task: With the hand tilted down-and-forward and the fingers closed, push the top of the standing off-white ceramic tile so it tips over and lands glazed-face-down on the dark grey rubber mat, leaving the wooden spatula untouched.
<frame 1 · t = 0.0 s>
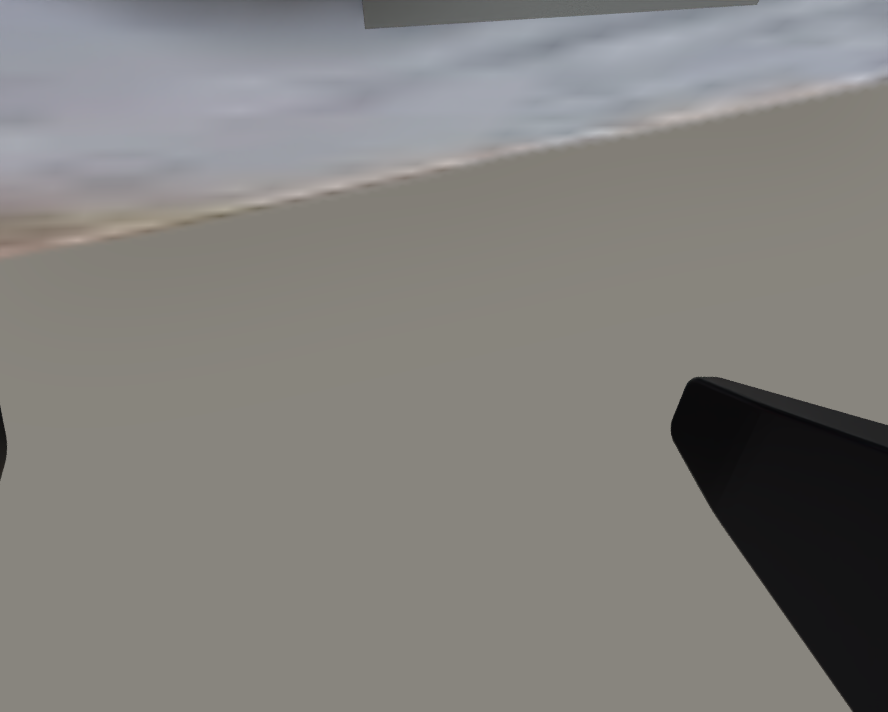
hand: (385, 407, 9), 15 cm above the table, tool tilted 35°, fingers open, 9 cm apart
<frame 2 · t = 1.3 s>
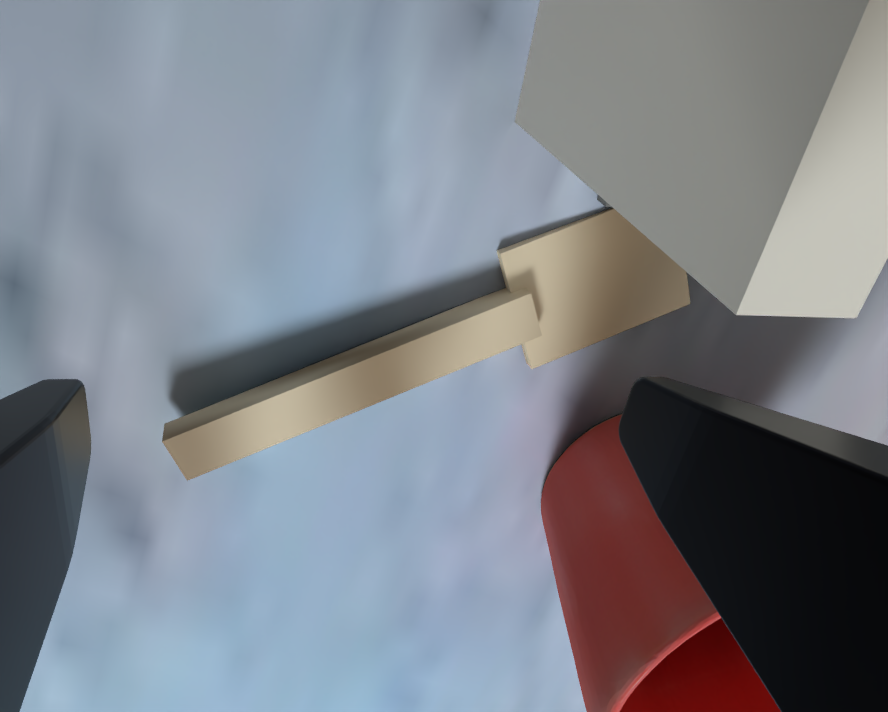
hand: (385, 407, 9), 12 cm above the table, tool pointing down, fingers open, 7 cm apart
flower pot: (623, 476, 30), on the table
spatula: (441, 336, 23), on the table, tilted 6°, touching mat
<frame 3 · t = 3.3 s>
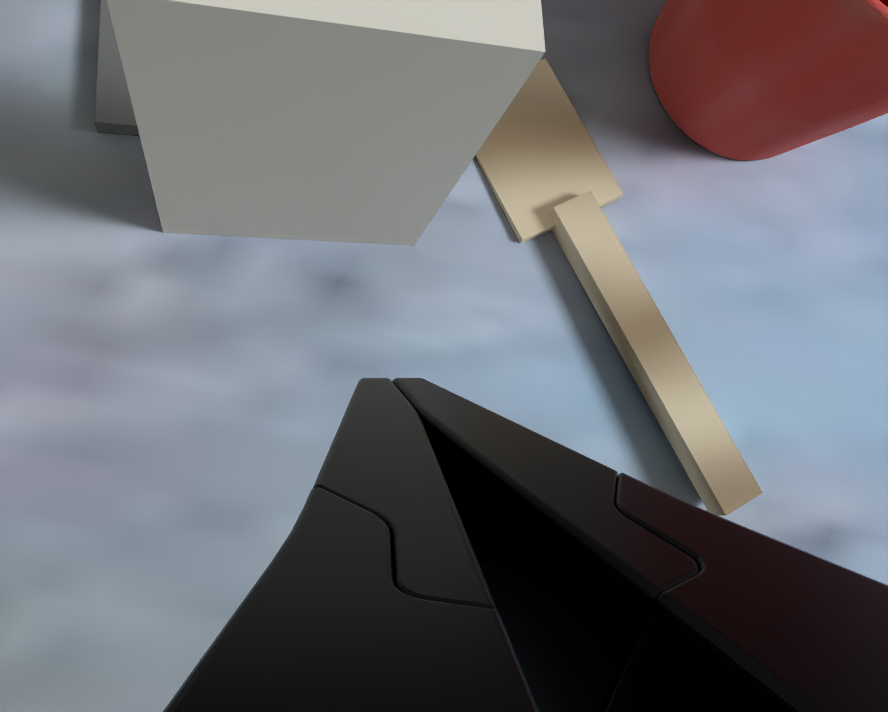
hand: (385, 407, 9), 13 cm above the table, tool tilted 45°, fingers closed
flower pot: (724, 82, 30), on the table
tile: (294, 204, 24), on the table
spatula: (602, 280, 26), on the table, tilted 6°, touching mat
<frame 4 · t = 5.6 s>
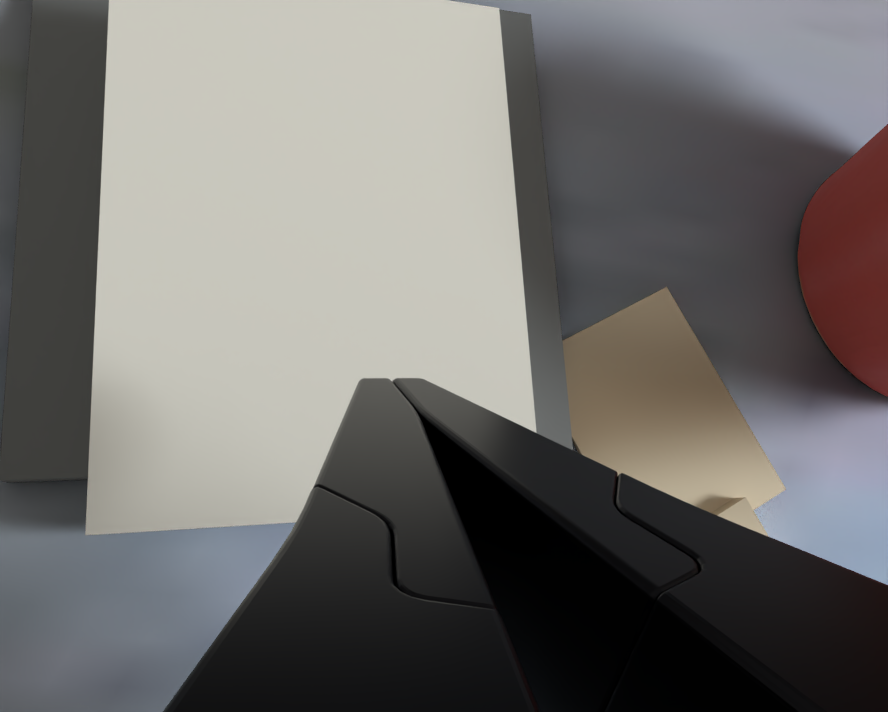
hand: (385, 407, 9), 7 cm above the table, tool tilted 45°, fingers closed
tile: (326, 520, 14), point 2 cm above the table, tilted 90°, touching mat
mat: (309, 216, 17), on the table
spatula: (761, 621, 18), on the table, tilted 6°, touching mat
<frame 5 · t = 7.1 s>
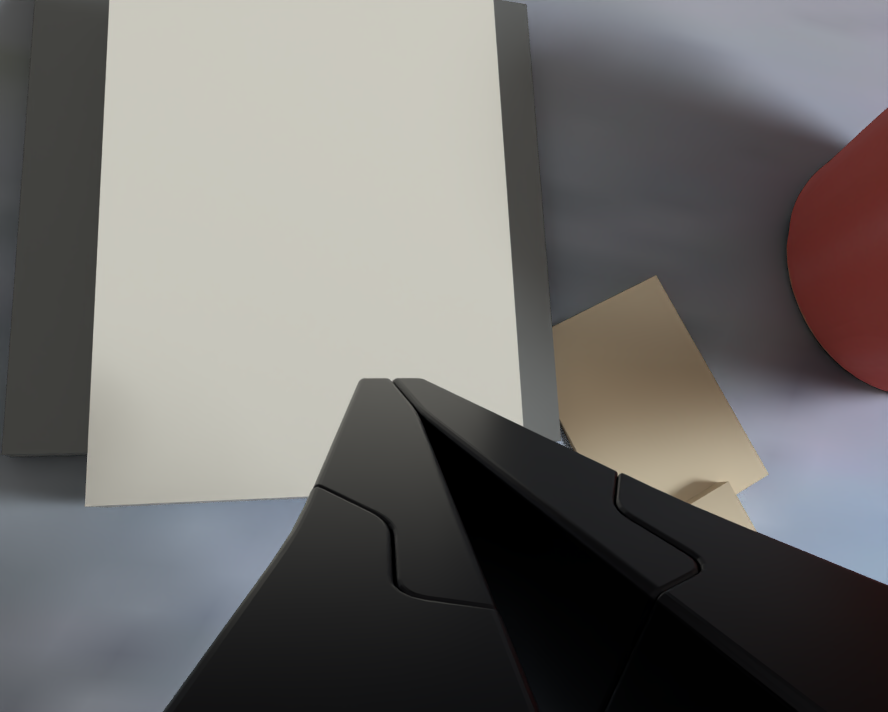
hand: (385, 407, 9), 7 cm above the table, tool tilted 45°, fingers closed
flower pot: (880, 278, 23), on the table
tile: (317, 496, 14), point 2 cm above the table, tilted 90°, touching mat
mat: (305, 201, 18), on the table
spatula: (741, 602, 19), on the table, tilted 6°, touching mat
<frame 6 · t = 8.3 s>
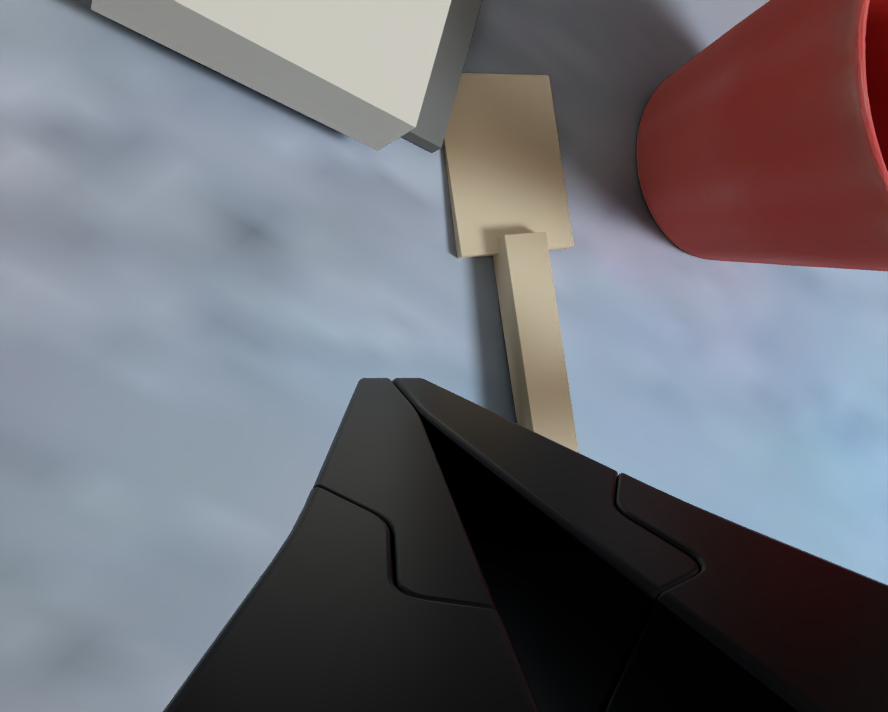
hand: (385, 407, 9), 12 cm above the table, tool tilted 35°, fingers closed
flower pot: (697, 169, 30), on the table
tile: (260, 71, 18), point 2 cm above the table, tilted 90°, touching mat
spatula: (523, 326, 25), on the table, tilted 6°, touching mat
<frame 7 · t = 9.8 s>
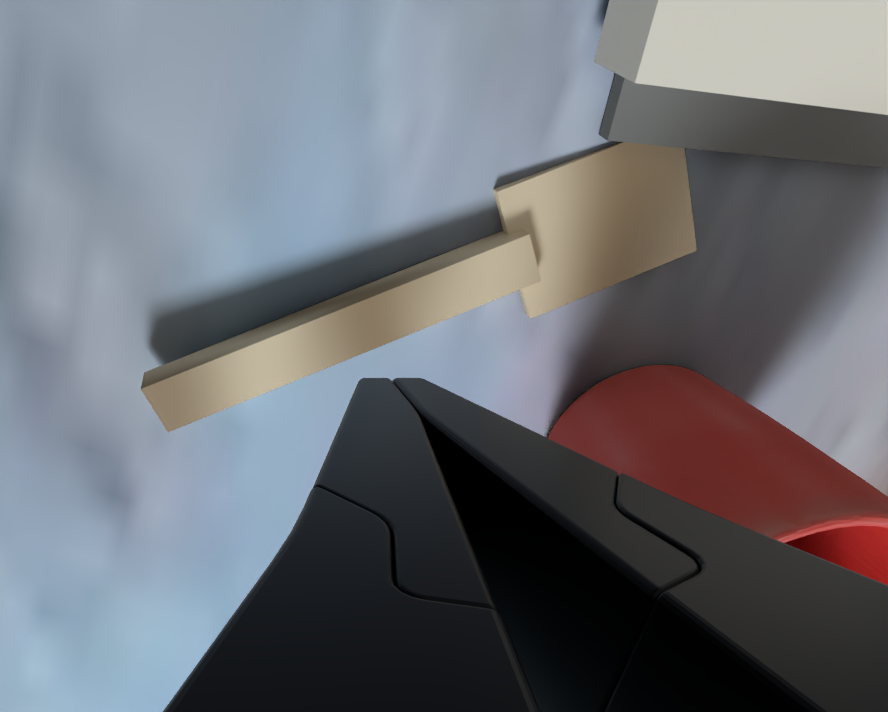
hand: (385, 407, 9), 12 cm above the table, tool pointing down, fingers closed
flower pot: (626, 439, 29), on the table
spatula: (435, 282, 22), on the table, tilted 6°, touching mat
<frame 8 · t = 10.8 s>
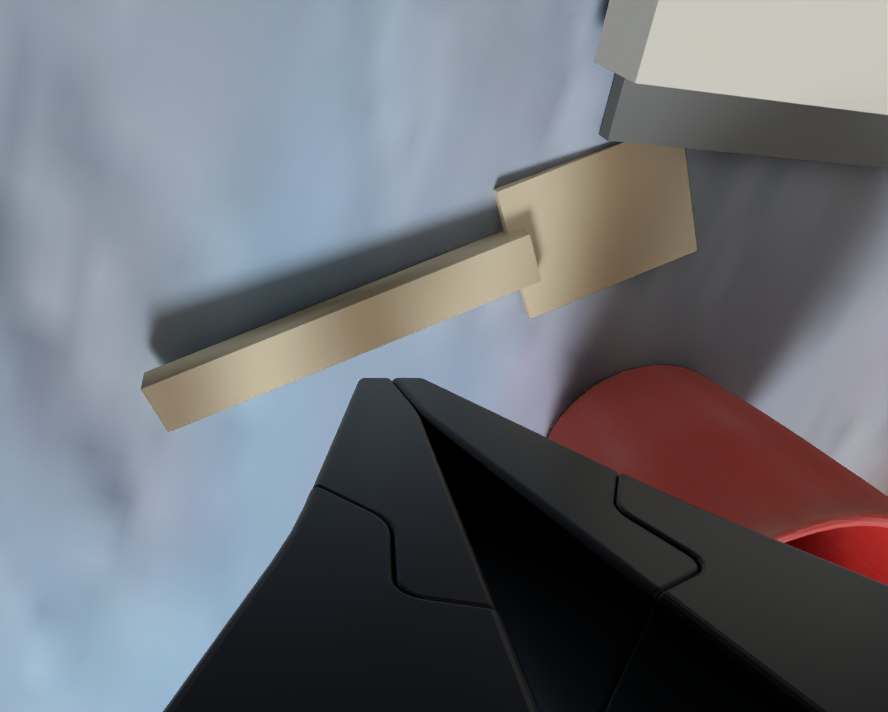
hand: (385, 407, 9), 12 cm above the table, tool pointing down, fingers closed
flower pot: (626, 440, 29), on the table
spatula: (435, 282, 22), on the table, tilted 6°, touching mat
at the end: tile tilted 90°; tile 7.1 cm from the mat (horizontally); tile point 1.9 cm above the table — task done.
